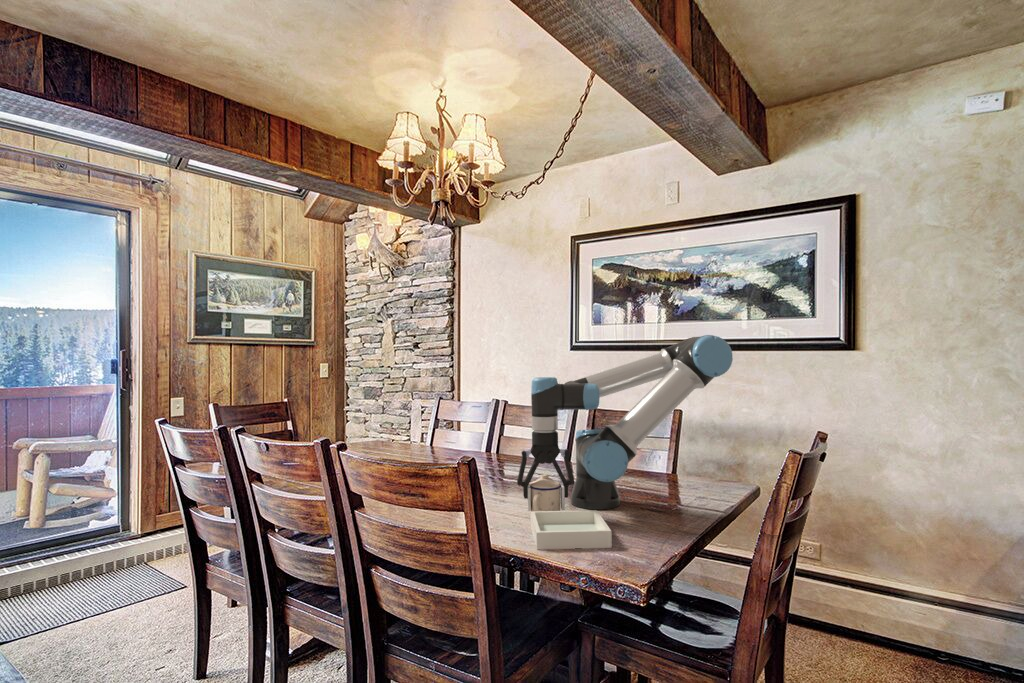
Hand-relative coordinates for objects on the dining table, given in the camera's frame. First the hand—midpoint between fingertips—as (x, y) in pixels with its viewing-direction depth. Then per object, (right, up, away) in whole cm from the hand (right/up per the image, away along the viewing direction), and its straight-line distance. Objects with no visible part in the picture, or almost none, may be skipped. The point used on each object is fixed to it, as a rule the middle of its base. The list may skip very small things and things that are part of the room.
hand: (545, 509), depth 157 cm
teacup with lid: (-1, -2, 0) cm, 2 cm away
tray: (+5, -1, -18) cm, 19 cm away
